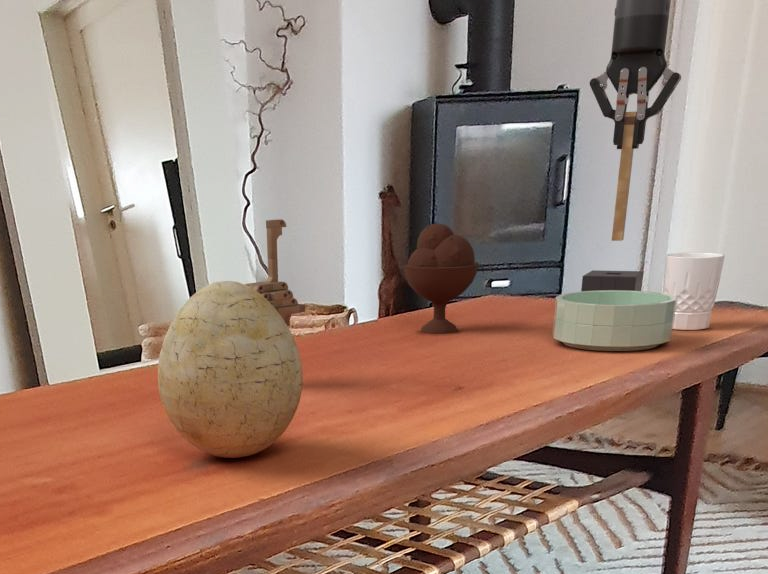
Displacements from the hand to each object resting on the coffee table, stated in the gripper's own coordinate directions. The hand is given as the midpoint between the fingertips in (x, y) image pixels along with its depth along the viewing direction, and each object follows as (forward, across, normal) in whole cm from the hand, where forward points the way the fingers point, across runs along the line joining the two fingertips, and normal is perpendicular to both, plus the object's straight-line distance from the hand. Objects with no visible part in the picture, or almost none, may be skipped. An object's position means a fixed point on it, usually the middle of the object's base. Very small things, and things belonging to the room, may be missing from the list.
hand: (627, 148), depth 148 cm
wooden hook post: (+24, +30, +73) cm, 83 cm away
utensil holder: (+24, 0, 0) cm, 24 cm away
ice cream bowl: (+24, +21, +25) cm, 41 cm away
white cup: (+24, -13, +12) cm, 30 cm away
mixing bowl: (+24, -5, +29) cm, 38 cm away
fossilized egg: (+24, +17, +97) cm, 101 cm away
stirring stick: (+13, 0, 0) cm, 13 cm away
